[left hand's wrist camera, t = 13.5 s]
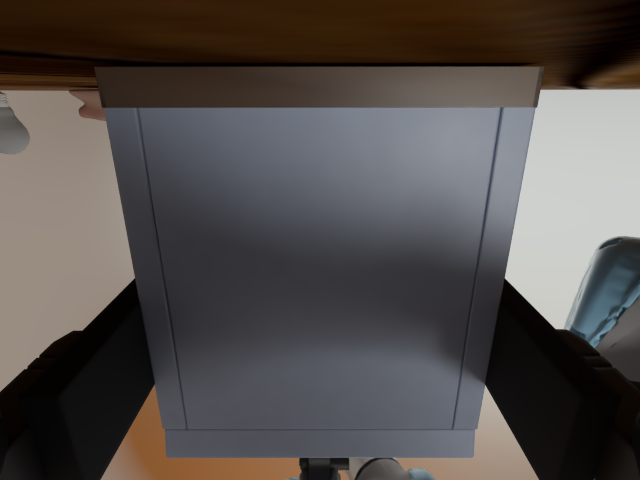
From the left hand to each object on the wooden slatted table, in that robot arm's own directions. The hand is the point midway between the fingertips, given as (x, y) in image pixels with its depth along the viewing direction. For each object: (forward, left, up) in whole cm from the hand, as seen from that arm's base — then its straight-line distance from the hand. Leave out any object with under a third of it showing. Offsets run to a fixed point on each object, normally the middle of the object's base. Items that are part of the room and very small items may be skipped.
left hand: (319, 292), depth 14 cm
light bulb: (-18, +74, -7) cm, 77 cm away
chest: (-5, +3, -7) cm, 9 cm away
